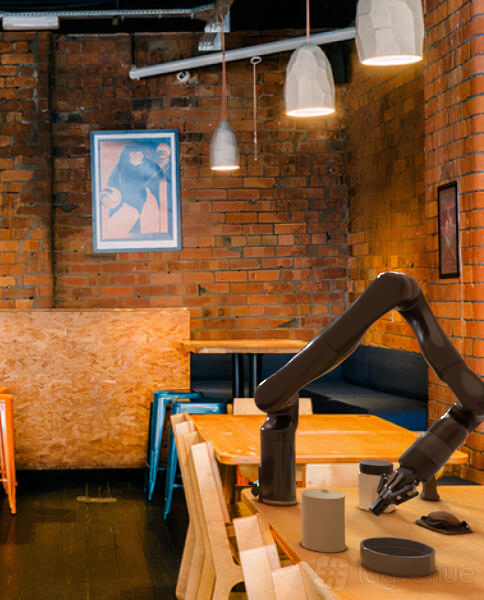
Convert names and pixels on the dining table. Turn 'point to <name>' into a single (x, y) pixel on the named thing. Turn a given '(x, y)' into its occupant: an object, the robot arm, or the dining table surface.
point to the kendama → (430, 488)
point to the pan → (397, 556)
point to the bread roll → (444, 523)
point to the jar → (372, 482)
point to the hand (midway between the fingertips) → (372, 513)
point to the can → (323, 520)
